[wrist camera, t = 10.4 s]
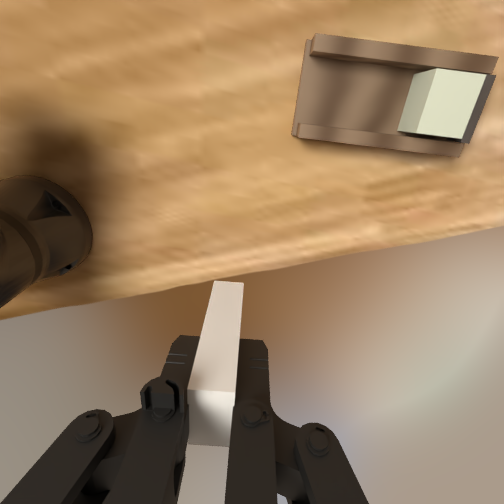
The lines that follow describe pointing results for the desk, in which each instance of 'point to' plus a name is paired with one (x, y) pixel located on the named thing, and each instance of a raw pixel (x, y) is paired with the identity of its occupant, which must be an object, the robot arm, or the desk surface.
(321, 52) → the chute
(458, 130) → the block
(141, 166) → the desk surface
